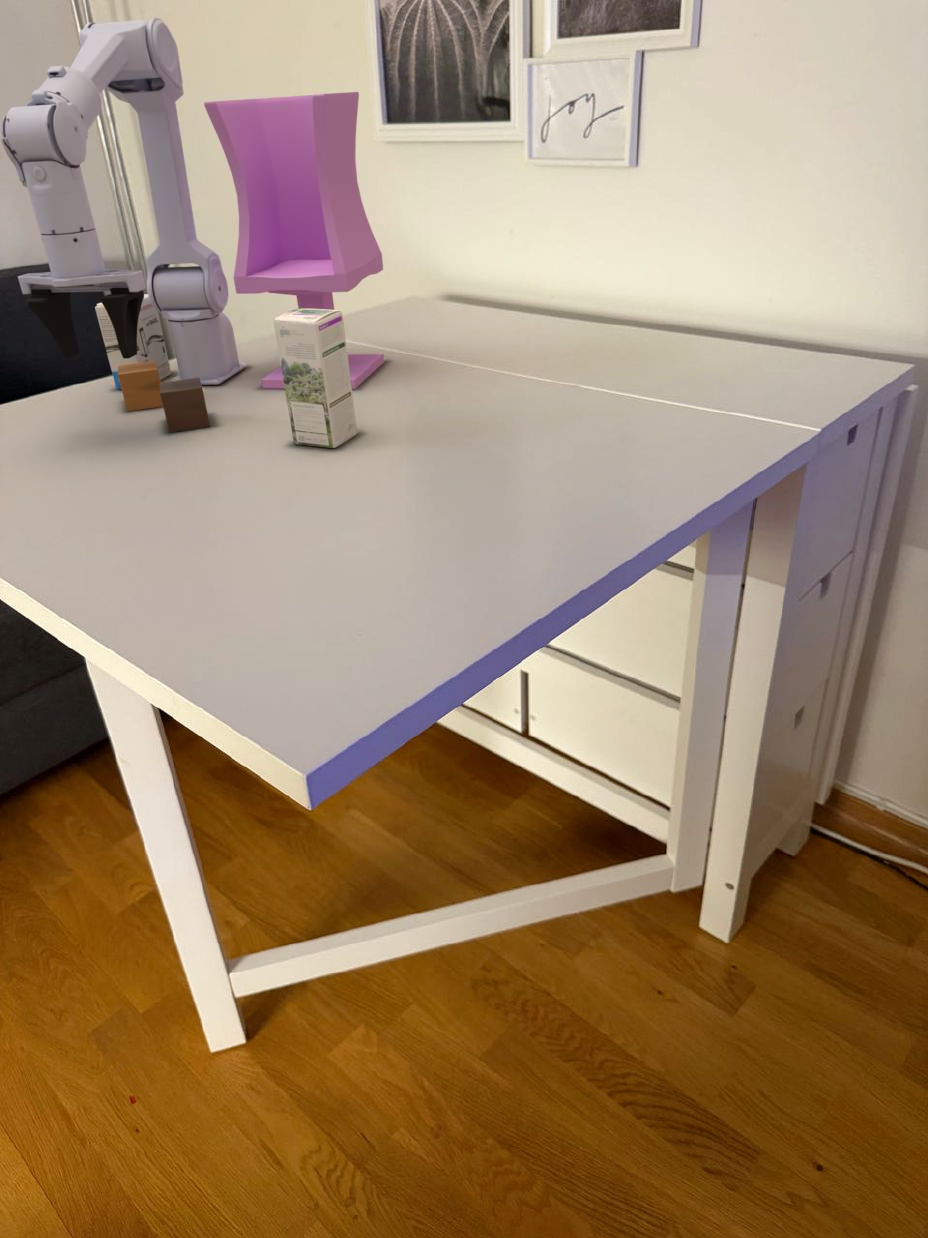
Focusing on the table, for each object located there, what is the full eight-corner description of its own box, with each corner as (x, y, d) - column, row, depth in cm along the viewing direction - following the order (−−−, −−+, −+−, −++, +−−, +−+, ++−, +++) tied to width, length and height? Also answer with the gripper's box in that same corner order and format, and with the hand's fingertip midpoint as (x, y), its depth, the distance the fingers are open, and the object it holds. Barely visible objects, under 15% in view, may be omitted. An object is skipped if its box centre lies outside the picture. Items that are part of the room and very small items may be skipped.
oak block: (127, 401, 124) (117, 365, 122) (164, 396, 125) (156, 360, 123) (127, 411, 120) (117, 374, 118) (165, 406, 121) (157, 369, 119)
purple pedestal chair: (253, 390, 126) (201, 101, 108) (295, 360, 139) (255, 98, 121) (359, 390, 122) (324, 93, 104) (392, 360, 135) (365, 90, 117)
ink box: (145, 389, 129) (124, 304, 123) (114, 389, 130) (92, 305, 124) (173, 373, 136) (155, 292, 130) (143, 373, 137) (124, 292, 131)
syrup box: (359, 433, 107) (344, 307, 99) (333, 450, 102) (315, 319, 95) (319, 429, 109) (301, 305, 102) (291, 445, 105) (270, 317, 97)
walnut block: (167, 421, 115) (158, 382, 113) (207, 415, 117) (199, 377, 114) (169, 432, 111) (160, 393, 109) (210, 426, 112) (202, 387, 110)
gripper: (-13, 238, 96) (25, 365, 103) (107, 234, 93) (139, 365, 100) (27, 228, 102) (61, 349, 109) (142, 224, 99) (169, 349, 106)
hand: (101, 356), depth 105 cm, fingers open, 7 cm apart
